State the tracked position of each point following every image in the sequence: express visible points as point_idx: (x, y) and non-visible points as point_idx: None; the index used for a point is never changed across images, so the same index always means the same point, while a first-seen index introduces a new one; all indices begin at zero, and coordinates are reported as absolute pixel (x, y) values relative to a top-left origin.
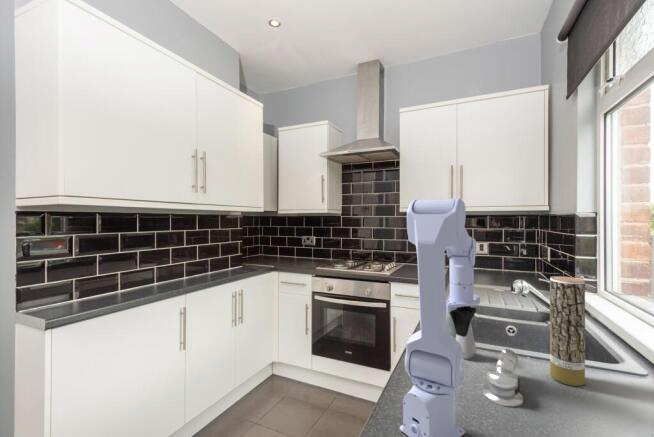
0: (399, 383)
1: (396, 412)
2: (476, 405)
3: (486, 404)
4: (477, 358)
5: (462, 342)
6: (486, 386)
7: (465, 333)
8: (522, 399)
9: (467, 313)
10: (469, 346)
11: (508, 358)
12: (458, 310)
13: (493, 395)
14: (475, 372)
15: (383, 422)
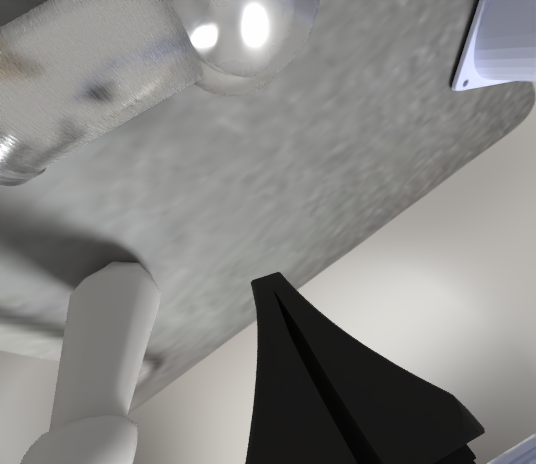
0: (386, 212)
1: (477, 129)
2: (350, 33)
3: (322, 12)
4: (85, 259)
5: (145, 310)
6: (238, 86)
7: (279, 284)
8: None
9: (465, 426)
10: (122, 291)
11: (66, 47)
12: (470, 457)
13: None
14: (177, 188)
15: (512, 114)
